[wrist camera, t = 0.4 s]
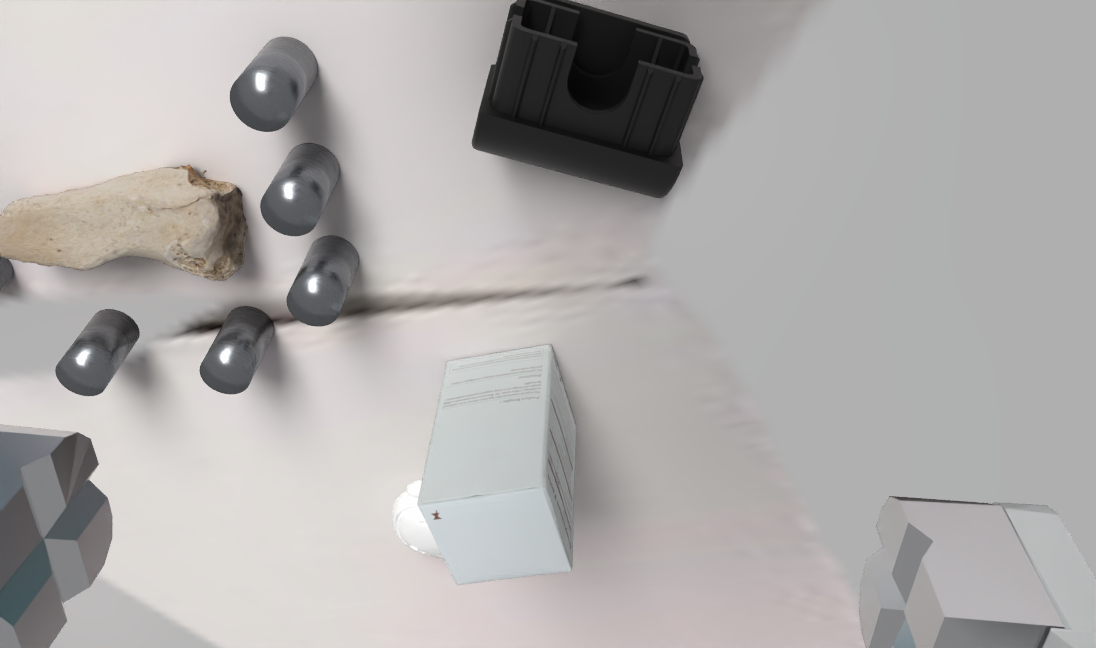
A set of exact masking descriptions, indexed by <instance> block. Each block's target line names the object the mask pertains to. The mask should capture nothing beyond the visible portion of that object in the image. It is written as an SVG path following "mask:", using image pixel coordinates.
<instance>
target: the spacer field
mask: <svg viewBox="0 0 1096 648" xmlns="http://www.w3.org/2000/svg"><path fill="white" fill-rule="evenodd" d="M317 73H318V66H317V61H316V58H315V56H314V54H313V53H312V51H311V50H310V49H309V48H308V47H307V46H306V45H305V44H304V43H302V42H301V41H299V40H297V39H294V38H291V37H278V38H275V39H272V40H271V41H269V42H268V43H267V44H266V45H265V46H264V48H263V49H262V50H261V51H260V52H259V54H258V55H257V56H256V57H255V58H254V60H253V61H252V62H251V63H250V64H249V66H248V67H247V68H246V69H245V70H244V72H243V73H242V74H241V75H240V76H239V78H238V79H237V80H236V81H235V82H234V84H233V86H232V88H231V91H230V102H231V106H232V108H233V110H234V112H235V114H236V115H237V117H238V118H239V119H240V120H241V121H242V122H243V123H244V124H246V125H247V126H249V127H251V128H253V129H255V130H258V131H263V132H271V131H276V130H279V129H281V128H282V127H284V126H285V125H286V124H287V123H288V121H289V120H290V118H291V117H292V115H293V113H294V112H295V110H296V109H297V107H298V106H299V104H300V103H301V101H302V100H303V98H304V97H305V95H306V94H307V92H308V91H309V89H310V88H311V86H312V84H313V83H314V81H315V80H316V77H317ZM339 175H340V168H339V164H338V161H337V159H336V158H335V156H334V155H333V154H332V153H331V152H330V151H329V150H328V149H326V148H324V147H323V146H320V145H317V144H313V143H304V144H300V145H298V146H296V147H295V148H293V149H292V150H291V152H290V153H289V155H288V156H287V158H286V160H285V161H284V163H283V165H282V166H281V168H280V169H279V171H278V173H277V174H276V176H275V178H274V179H273V181H272V182H271V184H270V186H269V187H268V189H267V191H266V192H265V194H264V196H263V197H262V200H261V205H260V208H261V213H262V216H263V218H264V219H265V221H266V222H267V224H268V225H269V226H270V227H272V228H273V229H274V230H276V231H277V232H279V233H282V234H284V235H288V236H301V235H304V234H307V233H309V232H310V231H311V230H312V229H313V228H314V227H315V225H316V223H317V221H318V219H319V217H320V215H321V213H322V211H323V209H324V207H325V205H326V203H327V201H328V199H329V197H330V195H331V193H332V191H333V189H334V187H335V185H336V183H337V181H338V179H339ZM358 265H359V256H358V253H357V251H356V249H355V248H354V246H353V245H352V244H351V243H349V242H348V241H346V240H345V239H343V238H340V237H336V236H324V237H321V238H319V239H317V240H316V241H315V242H314V243H313V244H312V246H311V248H310V250H309V252H308V254H307V256H306V258H305V260H304V262H303V264H302V266H301V268H300V270H299V272H298V274H297V277H296V279H295V281H294V283H293V285H292V287H291V289H290V291H289V293H288V296H287V306H288V309H289V311H290V312H291V314H292V315H293V316H294V317H295V318H296V319H298V320H299V321H301V322H302V323H305V324H307V325H311V326H326V325H329V324H331V323H332V322H334V321H335V320H336V319H337V317H338V316H339V313H340V311H341V308H342V306H343V303H344V301H345V298H346V295H347V293H348V290H349V288H350V285H351V283H352V280H353V278H354V275H355V273H356V270H357V267H358ZM12 278H13V268H12V265H11V263H10V262H9V260H8V259H7V258H3V257H1V254H0V292H1V291H2V290H3V289H4V287H5V286H6V285H7V284H8V283H9V282H10V281H11V280H12ZM273 333H274V325H273V322H272V321H271V319H270V318H269V317H268V316H267V315H266V314H265V313H264V312H262V311H261V310H259V309H256V308H253V307H248V306H243V307H238V308H235V309H234V310H232V311H231V312H230V313H229V315H228V317H227V319H226V320H225V322H224V324H223V326H222V328H221V329H220V331H219V333H218V335H217V337H216V338H215V340H214V342H213V344H212V346H211V347H210V349H209V351H208V353H207V355H206V356H205V358H204V360H203V362H202V364H201V366H200V375H201V377H202V379H203V381H204V382H205V383H206V384H207V385H208V386H209V387H211V388H212V389H214V390H216V391H218V392H221V393H225V394H237V393H241V392H243V391H244V390H246V389H247V387H248V386H249V384H250V382H251V380H252V378H253V375H254V373H255V371H256V369H257V367H258V365H259V363H260V361H261V359H262V357H263V355H264V352H265V350H266V348H267V346H268V344H269V342H270V340H271V338H272V336H273ZM138 338H139V328H138V326H137V324H136V323H135V322H134V320H133V319H131V318H130V317H129V316H128V315H126V314H125V313H123V312H120V311H117V310H112V309H105V310H101V311H99V312H97V313H96V314H95V315H94V317H93V318H92V319H91V321H90V322H89V323H88V325H87V326H86V327H85V329H84V330H83V331H82V333H81V334H80V335H79V336H78V338H77V339H76V341H75V342H74V343H73V344H72V346H71V347H70V349H69V350H68V351H67V352H66V354H65V355H64V356H63V358H62V359H61V361H60V362H59V363H58V364H57V366H56V376H57V378H58V380H59V381H60V383H61V384H62V385H63V386H64V387H66V388H67V389H68V390H70V391H72V392H74V393H76V394H79V395H83V396H95V395H98V394H100V393H102V392H103V391H104V389H105V388H106V386H107V385H108V383H109V382H110V380H111V379H112V377H113V376H114V374H115V373H116V371H117V370H118V368H119V367H120V365H121V364H122V362H123V361H124V359H125V358H126V356H127V355H128V353H129V352H130V350H131V349H132V347H133V346H134V344H135V343H136V341H137V340H138Z"/></svg>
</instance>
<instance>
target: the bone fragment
mask: <svg viewBox="0 0 1096 648" xmlns="http://www.w3.org/2000/svg"><path fill="white" fill-rule="evenodd" d="M204 172H206V170H205V171H203V172H202V173H201V174H203V176H204ZM241 196H242V194H241V191H240V190H239V188H237V187H236V186H235V185H233V184H231V183H228V182H223V181H215V180H209V179H205V177H201V176H199V174H198V173H196V172H195V171H194V170H193V169H192V167H191V166H190V165H188V166H181V167H177V168H172V167H163V168H159V169H155V170H150V171H142V172H135V173H132V174H130V175H124V176H120V177H117V178H115V179H112V180H109V181H107V182H104V183H101V184H97V185H93V186H90V187H85V188H81V189H73V190H67V191H65V192H61V193H57V194H46V195H43V196H33V197H30V198H23V199H19V200H17V201H14V202H12V203H11V204H9V205H8V206H7V207H6V208H5V209H4V211H3V213H2V215H0V254H1V257H3V258H8V259H15V260H19V261H22V262H30V263H37V264H39V265H44V266H54V265H57V266H62V267H70V268H73V269H76V270H82V271H83V270H89V269H93V268H95V267H99V266H101V265H103V264H104V263H106V262H108V261H111V260H114V259H116V258H119V257H128V256H139V257H146V258H150V259H155V260H158V261H161V262H163V263H164V264H167V265H169V266H171V267H174V268H177V269H180V270H183V271H184V270H185V271H188V272H189V273H191V274H194V275H198V276H201V277H204V278H207V279H210V280H219V281H224V280H226V279H228V278H229V277H230V276H231V275H233V272H235V271H237V270H239V269H240V268H241V267H242V266H243V262H244V244H245V241H246V235H247V225H246V223H245V221H246V219H245V217H244V215H243V208H242V203H241Z"/></svg>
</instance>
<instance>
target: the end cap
mask: <svg viewBox="0 0 1096 648" xmlns="http://www.w3.org/2000/svg"><path fill="white" fill-rule="evenodd" d="M699 60H700V59H699V57H698V55H697V52H696V48H695V47H694V46H693V45H691V44H690V41H689V39H688V37H687V36H686V35H684V34H683V33H680V32H676V31H673V30H669V29H666V28H662V27H659V26H655V25H652V24H649V23H645V22H642V21H638V20H635V19H631V18H628V17H624V16H621V15H618V14H614V13H611V12H607V11H604V10H600V9H597V8H593V7H590V6H587V5H583V4H580V3H576V2H573V1H569V0H517V2H515V3H513V4H512V5H511V6H510V10H509V14H508V18H507V22H506V26H505V30H504V34H503V38H502V42H501V46H500V50H499V54H498V58H497V62H496V65H491V68H490V72H489V75H488V79H487V83H486V87H485V90H484V94H483V98H482V102H481V106H480V109H479V113H478V118H477V122H476V126H475V130H474V135H473V139H472V146H473V148H474V149H476V150H479V151H483V152H487V153H491V154H494V155H498V156H502V157H506V158H509V159H513V160H517V161H521V162H524V163H528V164H532V165H536V166H539V167H543V168H547V169H551V170H554V171H558V172H562V173H566V174H569V175H573V176H577V177H580V178H584V179H588V180H592V181H595V182H599V183H603V184H607V185H610V186H614V187H618V188H622V189H625V190H629V191H633V192H637V193H640V194H644V195H648V196H652V197H655V198H662V197H664V196H665V195H667V194H668V192H669V191H670V190H671V189H672V187H673V185H674V184H675V182H676V180H677V178H678V176H679V174H680V171H681V169H682V167H683V162H682V155H681V148H680V142H679V140H680V138H681V135H682V133H683V130H684V127H685V125H686V122H687V120H688V117H689V115H690V112H691V109H692V107H693V104H694V102H695V99H696V97H697V94H698V91H699V89H700V86H701V84H702V81H703V79H704V77H703V75H702V73H701V70H700V67H697V66H698V63H699Z"/></svg>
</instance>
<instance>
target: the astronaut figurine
mask: <svg viewBox="0 0 1096 648" xmlns="http://www.w3.org/2000/svg"><path fill="white" fill-rule="evenodd" d="M421 483H422V480H420V481H415V482H413V483H411V484H409V485H408V487H407V492H404V493H402V494H401V495H400V496H399V497H398V498H397V500H396V501H395V503H394V506H393V511H392V522H393V527H394V530H395V532H396V534H397V535H398V537H399V538H400V539H401V540H402V541H403V542H404V543H405V544H406V545H407V546H409V547H410V548H411V549H413V550H415V551H417V552H419V553H422V554H428V555H432V556H434V557H438V558H443V556H442V554H441V552H440V550H439V548H438V546H437V544H436V542H435V539H434V537H433V535H432V533H431V531H430V529H429V527H428V525H427V522H426V520H425V518H424V517H423V515H422V513H421V511H420V509H419V507H418V505H417V501H418V497H419V492H420V488H421Z"/></svg>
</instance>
